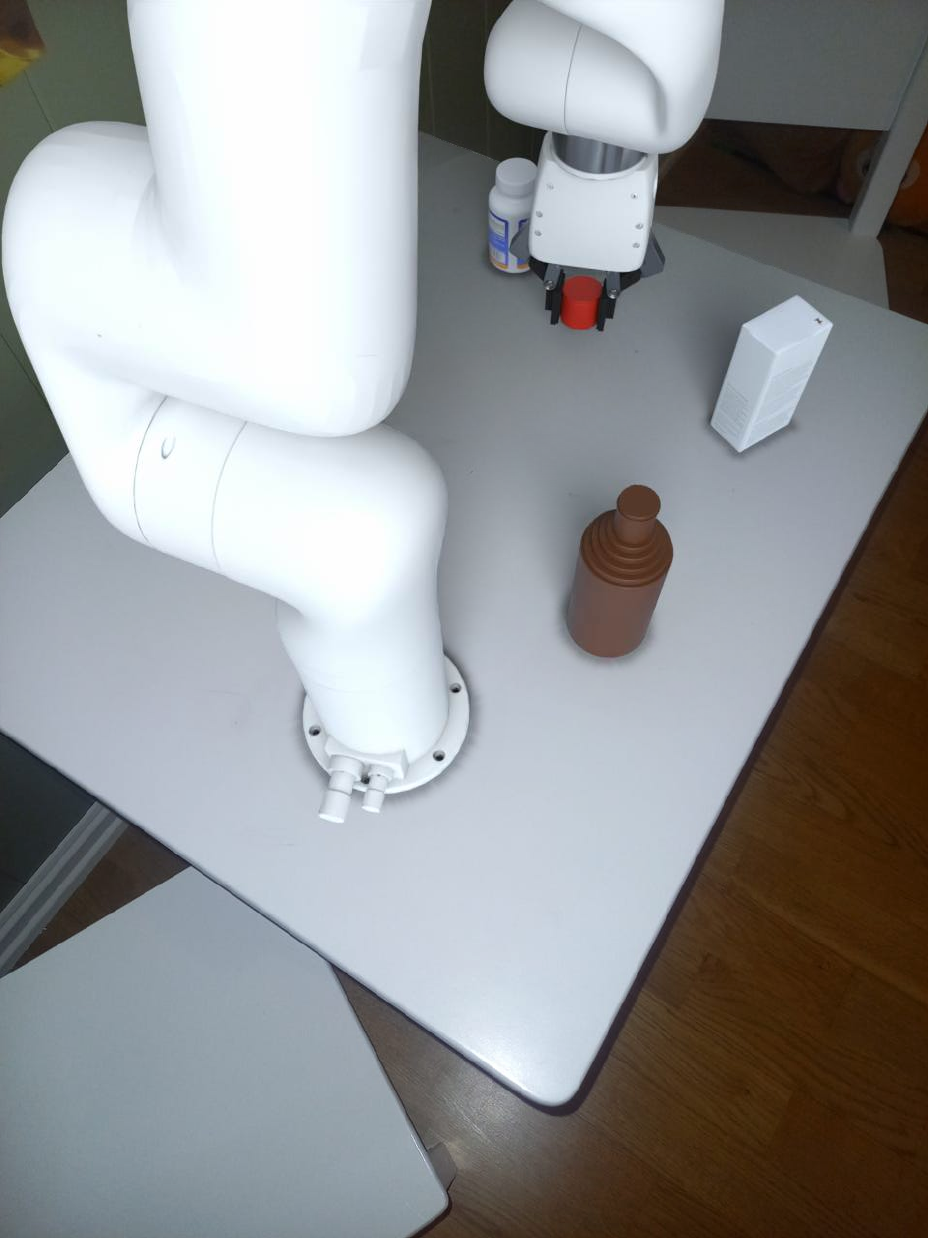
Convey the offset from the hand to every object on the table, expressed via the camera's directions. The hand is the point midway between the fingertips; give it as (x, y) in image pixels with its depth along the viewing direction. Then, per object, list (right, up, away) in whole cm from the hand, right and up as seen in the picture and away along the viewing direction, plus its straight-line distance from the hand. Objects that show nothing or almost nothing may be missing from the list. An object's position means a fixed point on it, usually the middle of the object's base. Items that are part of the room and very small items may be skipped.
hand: (579, 316), depth 81 cm
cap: (0, 0, +1) cm, 1 cm away
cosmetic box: (+15, -11, -4) cm, 19 cm away
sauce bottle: (+1, -29, -13) cm, 32 cm away
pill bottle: (-6, +9, +8) cm, 13 cm away
